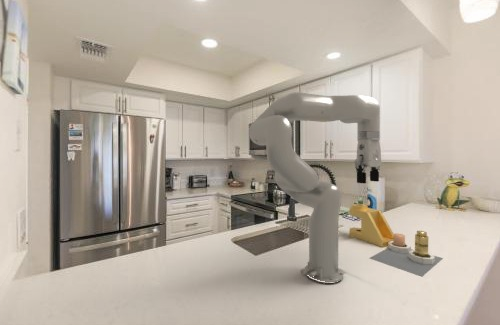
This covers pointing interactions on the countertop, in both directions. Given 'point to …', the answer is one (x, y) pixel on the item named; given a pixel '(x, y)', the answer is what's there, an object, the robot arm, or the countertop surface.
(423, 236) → the gold rounded cylinder
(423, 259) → the white octagonal ring
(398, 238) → the joined fitting
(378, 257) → the mat
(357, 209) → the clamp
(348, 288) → the countertop surface
